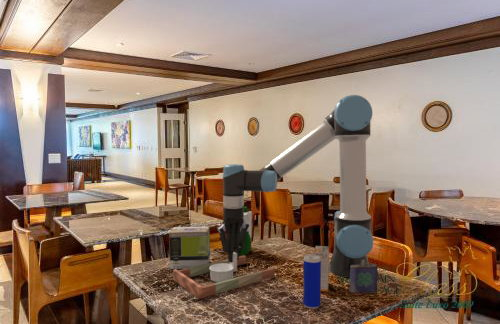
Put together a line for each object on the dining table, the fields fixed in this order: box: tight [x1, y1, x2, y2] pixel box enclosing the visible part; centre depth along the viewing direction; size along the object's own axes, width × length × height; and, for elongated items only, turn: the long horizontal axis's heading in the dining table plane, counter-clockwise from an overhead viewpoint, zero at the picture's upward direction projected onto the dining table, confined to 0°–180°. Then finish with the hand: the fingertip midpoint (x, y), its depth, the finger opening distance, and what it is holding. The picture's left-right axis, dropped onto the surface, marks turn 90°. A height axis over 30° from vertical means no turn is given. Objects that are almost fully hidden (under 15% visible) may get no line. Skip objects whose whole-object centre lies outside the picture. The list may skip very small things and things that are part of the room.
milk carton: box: [239, 205, 253, 256], centre depth 161 cm, size 9×9×20 cm
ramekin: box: [209, 263, 234, 283], centre depth 130 cm, size 9×9×4 cm
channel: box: [172, 255, 276, 299], centre depth 131 cm, size 19×31×4 cm, turn 126°
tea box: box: [168, 225, 211, 270], centre depth 144 cm, size 15×10×15 cm
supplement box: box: [314, 245, 330, 293], centre depth 123 cm, size 8×5×13 cm, turn 168°
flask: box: [349, 259, 379, 295], centre depth 119 cm, size 9×3×11 cm, turn 96°
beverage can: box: [302, 253, 322, 310], centre depth 109 cm, size 5×5×15 cm
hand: (233, 270), depth 133 cm, fingers closed
